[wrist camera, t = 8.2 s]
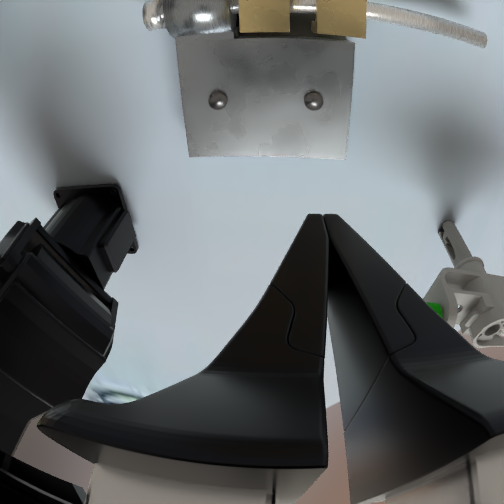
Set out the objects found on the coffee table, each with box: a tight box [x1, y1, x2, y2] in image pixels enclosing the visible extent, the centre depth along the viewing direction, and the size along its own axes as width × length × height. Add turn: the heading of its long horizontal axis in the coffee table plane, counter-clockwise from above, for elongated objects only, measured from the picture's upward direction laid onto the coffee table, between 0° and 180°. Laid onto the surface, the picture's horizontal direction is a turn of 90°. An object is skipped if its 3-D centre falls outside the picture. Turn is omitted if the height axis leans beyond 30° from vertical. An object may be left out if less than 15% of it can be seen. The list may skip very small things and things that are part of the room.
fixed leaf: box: [143, 0, 487, 160], centre depth 14 cm, size 18×10×4 cm, turn 92°
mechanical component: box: [423, 221, 504, 348], centre depth 18 cm, size 3×10×10 cm, turn 84°
